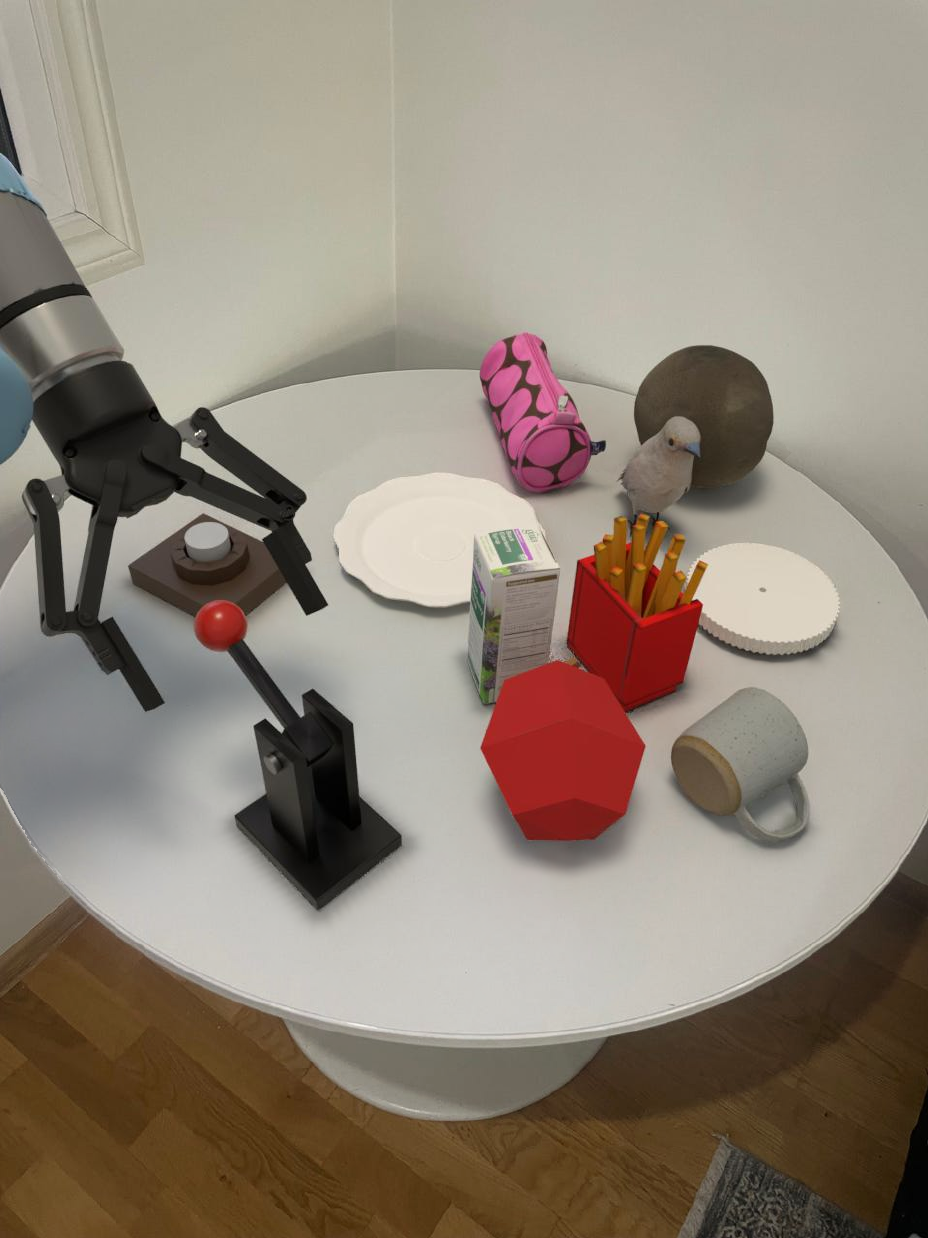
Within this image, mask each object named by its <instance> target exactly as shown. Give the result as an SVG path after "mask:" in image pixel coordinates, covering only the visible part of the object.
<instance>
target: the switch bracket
mask: <svg viewBox="0 0 928 1238" xmlns="http://www.w3.org/2000/svg"><path fill="white" fill-rule="evenodd" d="M301 701H302V708H303V716H304V715H305V714H307V713H308V712H311V713H312V715H313V716H314V717H315V719H316V720H317V721H318V723H319V724H320V725H321V727H322V728H323V730H324V731H325V732H326V734H327V735H328V736H329V738H330V739H331V740H332V742H333V743H334V745H333V747H332V748H331V749H330V750H329V752H328V753H327V754H326V755H325V756H323V757H322V758H321V759H319V760H318V761H316V762H315V763H313V764H312V765H310V766H309V767H307V762H306V756H305V755H304V754H303V753H302V752H301V751H300V750H299V749H298V748H297V747H296V746H295V745H294V744H293V743H292V742H290V741H289V740H288V739H287V738H286V737H285V736H284V735H283V734H282V732H281V731H280V730H279V729H278V728H277V727H275V726H274V724H273V723H271V722H270V721H269V720H268V719H267V718H266V717H265V718H263V719H262V720H260V721H258V722H257V723H255V724H253V726H252V727H253V732H254V737H255V741H256V742H255V743H256V747H257V752H258V758H259V762H260V768H261V774H262V778H263V779H262V780H263V784H264V788H265V789H264V790H265V793H264V794H263V795H262V796H260V797H259V798H257V799H256V800H254V801H252V802H251V803H250V804H249V805H247V806H246V807H244V808H243V809H241V810H239V812H237V813H235V814H234V817H233V818H234V820H235V825H236V827H238V829H239V830H240V831H241V832H242V833H243V834H244V835H245V836H246V837H247V838H248V839H249V840H250V841H251V842H252V844H254V845H255V846H256V847H257V849H258V850H259V851H260V852H261V853H262V854H263V855H264V856H265V857H266V858H267V859H268V860H269V861H270V862H271V863H272V864H273V865H274V866H275V867H276V868H277V869H278V871H279V872H281V874H282V875H283V876H285V878H286V879H287V880H288V881H289V882H290V883H291V884H292V885H293V886H294V888H296V889H297V890H298V891H299V892H300V893H301V894H302V895H303V897H305V898H306V899H307V900H308V901H309V902H310V904H311V905H312V906H313V907H314V908H315V910H317V911H319V910H321V909H322V908H323V907H325V906H326V905H327V904H329V902H331V901H332V900H333V899H335V898H336V897H337V896H338V895H340V894H341V893H342V892H344V891H345V890H347V888H349V887H350V886H351V885H352V884H354V883H355V882H356V881H358V880H359V879H360V878H361V877H363V876H364V875H365V874H366V873H368V872H369V871H370V870H372V869H373V868H375V866H377V865H378V864H379V863H380V862H381V861H383V860H384V859H385V858H387V857H388V856H390V854H393V852H394V851H396V850H397V849H398V848H400V847H401V846H402V845H403V840H402V839H403V837H402V834H401V833H400V832H399V831H398V830H397V829H396V828H395V827H393V825H391V824H390V823H389V822H388V820H386V819H385V818H384V817H383V816H382V815H380V814H379V813H378V812H377V811H376V810H375V809H374V808H373V807H372V806H371V805H369V803H367V802H366V801H365V800H364V799H363V798H362V797H361V795H360V789H359V777H358V776H359V775H358V764H357V753H356V740H355V730H354V722H352V720H350V718H348V717H347V716H346V715H344V714H343V712H341V711H340V710H339V709H338V708H337V707H335V706H334V705H333V704H331V702H329V701H328V700H327V699H326V698H325V697H324V696H322V695H321V694H320V693H319V692H318V691H317V690H316V689H314V687H313V688H310V689H309V690H308V691H306V692H304V693H303V694H302V695H301Z"/></svg>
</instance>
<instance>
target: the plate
mask: <svg viewBox="0 0 928 1238" xmlns="http://www.w3.org/2000/svg"><path fill="white" fill-rule="evenodd" d="M524 526H539V527H540V528H541V530H542V532H543V534H544V536H545V538H546V539H547V534H546V530H545V528H543V527H544V526H542V524H541V523H540V522H539V521H538V517H537V514H536V511H535V508H534V507H533V506H532V505H531V504H530V503H529V502H528V501H527V500H526V499H525V498H522V497H520V496H518V495H516V494H513V493H511V492H510V491H509V490H508V489H506V488H505V487H504V486H502V485H501V484H500V483H497V482H494V481H492V480H489V479H487V478H479V477H468V476H464V475H460V474H457V473H453V472H437V471H435V472H430V473H426V474H421V475H413V476H399V477H395V478H392V479H389V480H385V481H384V482H383V483H382V482H381V484H380V485H377V486H376V487H375V488H374V489H371V490H368V491H367V492H364V493H362V494H359V495H357V496H356V497H354V499H352V500H351V501H350V502H349V503H348V504H347V507H346V510H345V512H344V515H343V516H342V517H341V519H340V520H339V521H338V522H337V523H336V525H334V530H333V535H332V537H333V540H334V543H335V545H336V547H337V549H338V559H339V560H338V561H339V564H340V566H341V567H342V569H343V570H344V571H345V572H346V573H347V574H348V575H350V576H351V577H353V578H355V579H357V580H359V581H360V582H362V583H363V584H364V585H365V586H366V587H367V588H368V589H369V590H370V592H372V593H373V594H374V595H378V596H380V597H382V598H385V599H388V600H394V601H403V602H410V603H413V604H417V605H419V606H422V607H426V608H443V609H444V608H445V609H447V608H450V607H454V606H457V605H462V604H465V603H470V598H471V582H472V567H473V549H474V535H475V534H479V533H483V532H487V531H492V530H498V529H504V528H512V527H524Z"/></svg>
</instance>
